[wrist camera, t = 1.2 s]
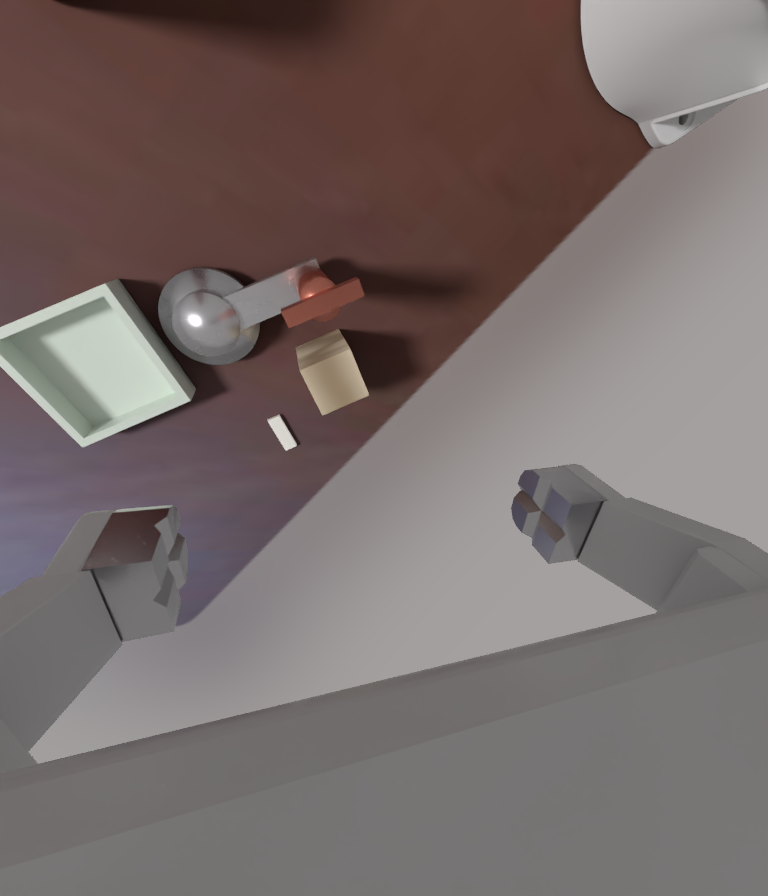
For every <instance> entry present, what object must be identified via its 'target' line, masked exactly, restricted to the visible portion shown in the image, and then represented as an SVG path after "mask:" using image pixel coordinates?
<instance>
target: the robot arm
mask: <svg viewBox="0 0 768 896" xmlns="http://www.w3.org/2000/svg"><path fill="white" fill-rule="evenodd" d="M581 31H582V41H583V48H584V53H585V58H586V61H587V65H588V68H589V71H590V74H591V77H592V79H593V81H594V83H595V85H596V87H597V89H598V91H599V92H600V94H601V95H602V96H603V98H604V99H605V100H606V101H607V102H608V103H609V104H610V105H611V106H612V107H613V108H614V109H616V110H617V111H619V112H621V113H622V114H624V115H626V116H628V117H630V118H632V119H633V120H635V121H636V122H637V123H638V125H639V127H640V129H641V131H642V133H643V135H644V137H645V138H646V140H647V141H648V143H649V144H650V145H651V146H652V147H654V148H661V147H663V146H667V145H669V144H672V143H674V142H675V141H677V140H678V139H680V138H681V137H683V136H684V135H685V134H687V133H688V132H690V131H691V130H693V129H694V128H696V127H697V126H698V125H700V124H701V123H703V122H705V121H706V120H708V119H709V118H710V117H712V116H713V115H715V114H716V113H718V112H719V111H721V110H722V109H724V108H725V107H727V106H728V105H730V104H731V103H732V102H734V101H735V100H737V99H738V98H741V97H744V96H747V95H750V94H754V93H757V92H760V91H762V90H765V89H767V88H768V0H581ZM679 117H680V121H679ZM518 485H519V487H520V489H521V491H520V492H519V493H518V494H517V495H516V496H515V497H514V500H513V504H512V508H511V509H512V516H513V520H514V522H515V524H516V526H517V527H518V529H519V530H520V531H521V532H522V533H524V534H526V535H528V536H530V537H531V538H532V545H533V546H534V547H535V549H536V550H537V551H538V552H539V553H540V555H541V556H542V557H543V558H544V559H545V560H546V562H547V563H548V564H550V563H556V562H564V561H571V560H577V559H578V562H580V563H581V564H583V565H585V566H586V567H588V568H590V569H591V570H593V571H594V572H596V573H598V574H599V575H601V576H602V577H604V578H606V579H607V580H609V581H610V582H612V583H614V584H615V585H617V586H619V587H620V588H622V589H623V590H625V591H627V592H628V593H630V594H631V595H633V596H635V597H636V598H638V599H640V600H641V601H643V602H645V603H646V604H648V605H649V606H651V607H652V608H654V609H656V610H657V612H656V613H655V614H652V615H647V616H643V617H639V618H635V619H631V620H627V621H623V622H619V623H615V624H610V625H606V626H602V627H598V628H594V629H590V630H586V631H582V632H578V633H574V634H570V635H566V636H562V637H557V638H554V639H549V640H545V641H541V642H537V643H533V644H529V645H525V646H521V647H517V648H513V649H509V650H504V651H501V652H496V653H492V654H489V655H484V656H480V657H476V658H472V659H468V660H464V661H459V662H455V663H452V664H447V665H443V666H439V667H435V668H431V669H427V670H422V671H418V672H414V673H410V674H406V675H402V676H398V677H393V678H389V679H386V680H381V681H377V682H373V683H369V684H365V685H360V686H357V687H353V688H348V689H344V690H340V691H336V692H332V693H328V694H324V695H320V696H315V697H311V698H307V699H303V700H300V701H295V702H291V703H287V704H283V705H278V706H275V707H270V708H266V709H262V710H258V711H254V712H250V713H246V714H242V715H237V716H233V717H229V718H225V719H221V720H217V721H213V722H209V723H205V724H200V725H196V726H193V727H188V728H184V729H180V730H176V731H172V732H168V733H164V734H160V735H155V736H152V737H148V738H143V739H139V740H135V741H131V742H127V743H123V744H118V745H115V746H110V747H106V748H102V749H98V750H94V751H90V752H86V753H81V754H77V755H73V756H70V757H65V758H61V759H57V760H53V761H49V762H45V763H41V764H38V763H37V762H36V761H35V760H34V758H33V757H32V756H31V755H30V754H29V752H28V751H29V750H30V749H31V748H32V747H33V746H34V744H35V743H36V742H37V741H38V740H39V739H40V738H41V737H42V735H43V734H44V733H45V732H46V731H47V730H48V729H49V727H50V726H51V725H52V724H53V723H54V722H55V721H56V720H57V718H58V717H59V716H60V715H61V714H62V713H63V712H64V710H65V709H66V708H67V707H68V706H69V705H70V704H71V702H72V701H73V700H74V699H75V698H76V697H77V696H78V694H79V693H80V692H81V691H82V690H83V689H84V688H85V687H86V685H87V684H88V683H89V682H90V681H91V680H92V678H93V677H94V676H95V675H96V674H97V673H98V672H99V671H100V669H101V668H102V667H103V666H104V665H105V664H106V663H107V661H108V660H109V659H110V658H111V657H112V656H113V655H114V653H115V652H116V651H117V650H118V649H119V648H120V647H121V645H122V642H124V641H129V640H133V639H139V638H144V637H148V636H153V635H158V634H163V633H168V632H173V631H174V629H175V625H176V620H177V616H178V612H179V608H180V603H181V600H180V596H179V593H178V590H179V589H180V588H181V587H182V586H183V585H184V584H185V581H186V576H187V571H188V552H187V545H186V541H185V538H184V537H183V536H182V535H180V534H179V533H177V532H178V529H179V525H180V522H181V521H180V517H179V514H178V510H177V508H176V507H175V506H174V505H167V506H155V507H142V508H130V509H118V510H107V511H97V512H88V513H86V514H84V515H82V516H81V517H80V518H79V519H78V521H77V522H76V524H75V525H74V527H73V528H72V530H71V532H70V533H69V535H68V536H67V538H66V539H65V541H64V542H63V544H62V545H61V547H60V548H59V550H58V551H57V553H56V554H55V556H54V557H53V559H52V561H51V562H50V564H49V565H48V567H47V568H46V570H45V571H44V573H43V574H42V576H41V577H36V578H30V579H28V580H27V581H25V582H24V583H22V584H21V585H19V586H17V587H16V588H14V589H13V590H11V591H10V592H8V593H6V594H5V595H3V596H2V597H0V896H768V553H766V552H765V551H763V550H762V549H760V548H759V547H757V546H755V545H754V544H752V543H751V542H749V541H748V540H746V539H745V538H742V537H739V536H736V535H733V534H730V533H728V532H725V531H722V530H720V529H716V528H714V527H711V526H708V525H706V524H703V523H700V522H697V521H694V520H692V519H688V518H686V517H683V516H680V515H678V514H675V513H672V512H669V511H667V510H664V509H661V508H658V507H655V506H653V505H650V504H647V503H644V502H641V501H639V500H636V499H633V498H625V497H623V496H622V495H621V494H619V493H618V492H617V491H615V490H614V489H613V488H611V487H610V486H608V485H607V484H606V483H605V482H603V481H602V480H600V479H599V478H597V477H596V476H595V475H594V474H592V473H591V472H590V471H588V470H587V469H585V468H584V467H583V466H581V465H577V464H570V465H563V466H558V467H551V468H542V469H533V470H525V471H524V472H523V473H522V475H521V476H520V479H519V482H518Z"/></svg>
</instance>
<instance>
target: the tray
mask: <svg viewBox="0 0 768 896" xmlns="http://www.w3.org/2000/svg"><path fill="white" fill-rule="evenodd" d="M0 366H1V367H2V368H3V369H4V370H5V371H6V372H7V373H8V374H9V375H10V376H11V377H12V378H13V379H14V380H15V381H16V382H17V383H18V384H19V385H20V386H21V387H22V388H23V389H24V390H25V391H26V392H27V393H28V394H29V395H30V396H31V397H32V398H33V399H34V400H35V401H36V402H37V403H38V404H39V405H40V406H41V407H42V408H43V409H44V410H45V411H46V412H47V413H48V414H49V415H50V416H51V417H52V418H53V419H54V420H55V421H56V422H57V423H58V424H59V425H60V426H61V427H62V428H63V429H64V430H65V431H66V432H67V433H68V434H69V435H70V436H71V437H72V438H73V439H74V440H75V441H76V442H77V443H78V444H79V445H80V446H81V447H85V446H87V445H89V444H92V443H94V442H96V441H99V440H101V439H103V438H106V437H108V436H110V435H113V434H115V433H117V432H120V431H122V430H124V429H127V428H129V427H131V426H134V425H136V424H138V423H141V422H143V421H145V420H147V419H150V418H152V417H154V416H157V415H159V414H161V413H164V412H166V411H168V410H171V409H173V408H175V407H178V406H180V405H182V404H185V403H187V402H189V401H191V400H192V397H193V395H194V393H195V391H196V388H195V386H194V385H193V384H192V382H191V381H190V379H189V378H188V376H187V375H186V374H185V372H184V371H183V369H182V368H181V367H180V365H179V364H178V362H177V361H176V359H175V358H174V357H173V355H172V354H171V352H170V351H169V350H168V348H167V347H166V345H165V344H164V343H163V341H162V340H161V338H160V337H159V335H158V334H157V333H156V331H155V330H154V328H153V327H152V326H151V324H150V323H149V321H148V320H147V318H146V317H145V316H144V314H143V313H142V311H141V310H140V309H139V307H138V306H137V304H136V303H135V301H134V300H133V299H132V297H131V296H130V294H129V293H128V292H127V290H126V289H125V287H124V286H123V285H122V283H121V282H120V280H119V279H116V280H113V281H110V282H108V283H105V284H103V285H100V286H98V287H95V288H93V289H91V290H88V291H86V292H84V293H81V294H79V295H76V296H74V297H72V298H69V299H67V300H65V301H62V302H60V303H57V304H55V305H53V306H50V307H48V308H45V309H43V310H41V311H38V312H36V313H34V314H31V315H29V316H26V317H24V318H22V319H19V320H17V321H15V322H12V323H10V324H7V325H5V326H3V327H0Z"/></svg>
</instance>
